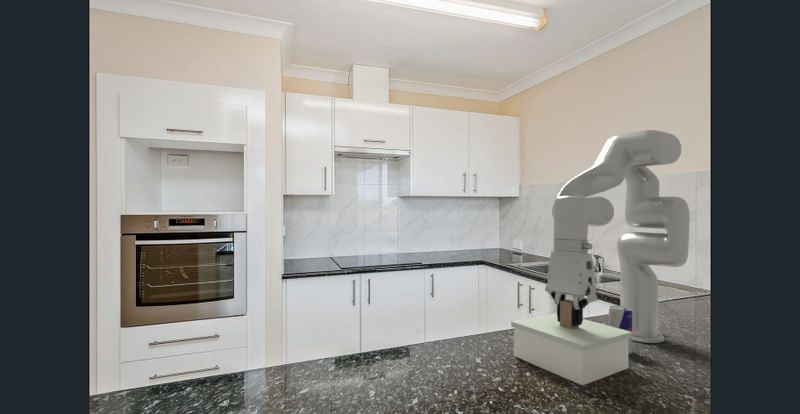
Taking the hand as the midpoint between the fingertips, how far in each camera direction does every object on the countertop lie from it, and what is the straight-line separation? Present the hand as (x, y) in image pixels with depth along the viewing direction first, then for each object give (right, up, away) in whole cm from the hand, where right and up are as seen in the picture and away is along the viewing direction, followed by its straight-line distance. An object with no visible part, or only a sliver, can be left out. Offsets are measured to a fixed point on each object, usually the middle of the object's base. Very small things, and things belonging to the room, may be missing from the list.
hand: (569, 322), depth 88 cm
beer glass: (+5, -11, +17) cm, 21 cm away
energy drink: (+17, -11, +8) cm, 22 cm away
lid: (0, -2, 0) cm, 2 cm away
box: (0, -10, 0) cm, 10 cm away
